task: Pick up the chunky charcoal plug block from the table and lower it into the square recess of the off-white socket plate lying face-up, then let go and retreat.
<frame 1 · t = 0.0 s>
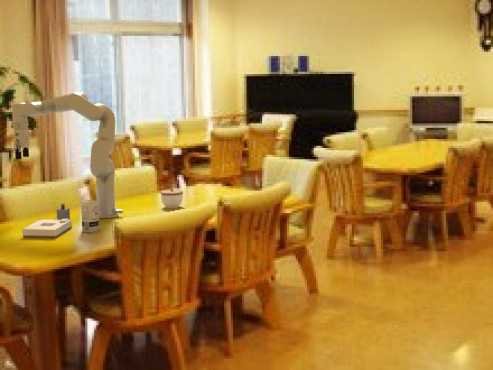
hand: (22, 158, 387), 31 cm above the table, tool pointing down, fingers open, 9 cm apart
supplement can: (90, 231, 352), on the table
socket: (48, 232, 350), on the table
plug: (63, 224, 368), on the table
lidded bowl: (172, 207, 412), on the table
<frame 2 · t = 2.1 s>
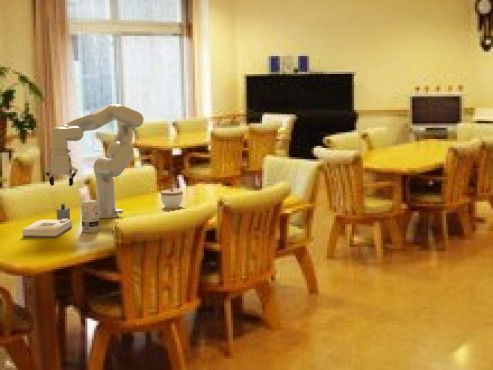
hand: (61, 185, 365), 20 cm above the table, tool pointing down, fingers open, 9 cm apart
nothing on the table moved.
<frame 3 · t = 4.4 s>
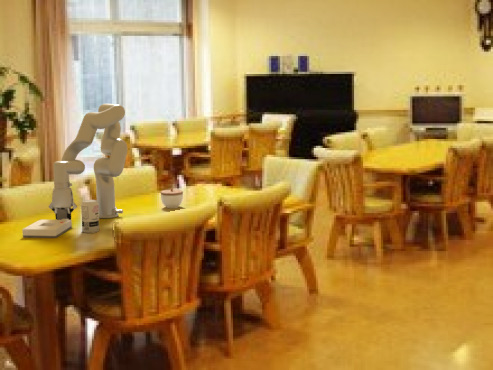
hand: (63, 220, 368), 2 cm above the table, tool pointing down, fingers closed on plug, 5 cm apart
plug: (63, 224, 368), on the table, touching gripper
everything else where it was.
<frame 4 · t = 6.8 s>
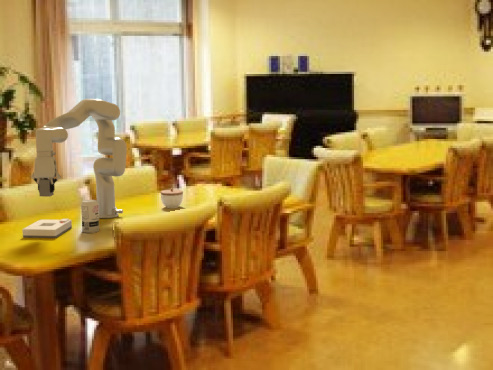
hand: (46, 191, 347), 20 cm above the table, tool pointing down, fingers closed on plug, 5 cm apart
plug: (46, 195, 347), point 18 cm above the table, touching gripper
everything else where it was.
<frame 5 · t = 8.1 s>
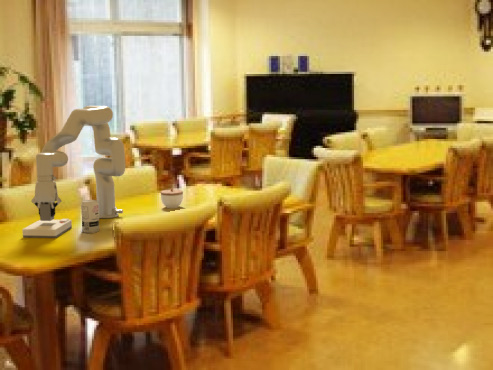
hand: (47, 215, 348), 8 cm above the table, tool pointing down, fingers closed on plug, 5 cm apart
plug: (47, 219, 349), point 6 cm above the table, touching gripper
everything else where it was.
when the fingers open (5 cm above the table, at t = 9.2 s): plug drops 2 cm, resting on socket.
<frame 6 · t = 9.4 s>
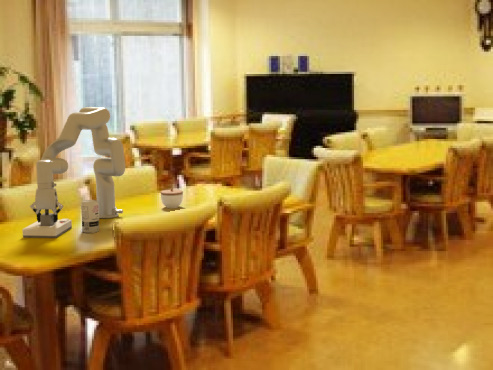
hand: (47, 221, 349), 5 cm above the table, tool pointing down, fingers open, 7 cm apart
plug: (47, 230, 349), point 1 cm above the table, touching socket
everything else where it was.
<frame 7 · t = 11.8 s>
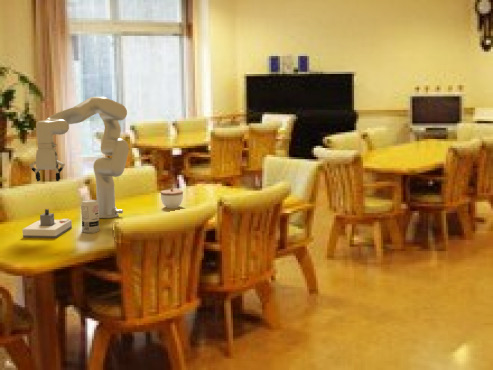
hand: (48, 180, 354), 24 cm above the table, tool pointing down, fingers open, 9 cm apart
nothing on the table moved.
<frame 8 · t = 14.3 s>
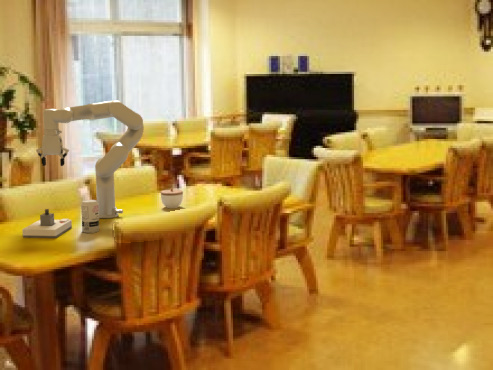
hand: (53, 165, 377), 28 cm above the table, tool pointing down, fingers open, 9 cm apart
nothing on the table moved.
at the end: plug 0.0 cm off-centre on the socket, point 1.0 cm above the socket's base; plug tilted 0°; the gripper is holding nothing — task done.
